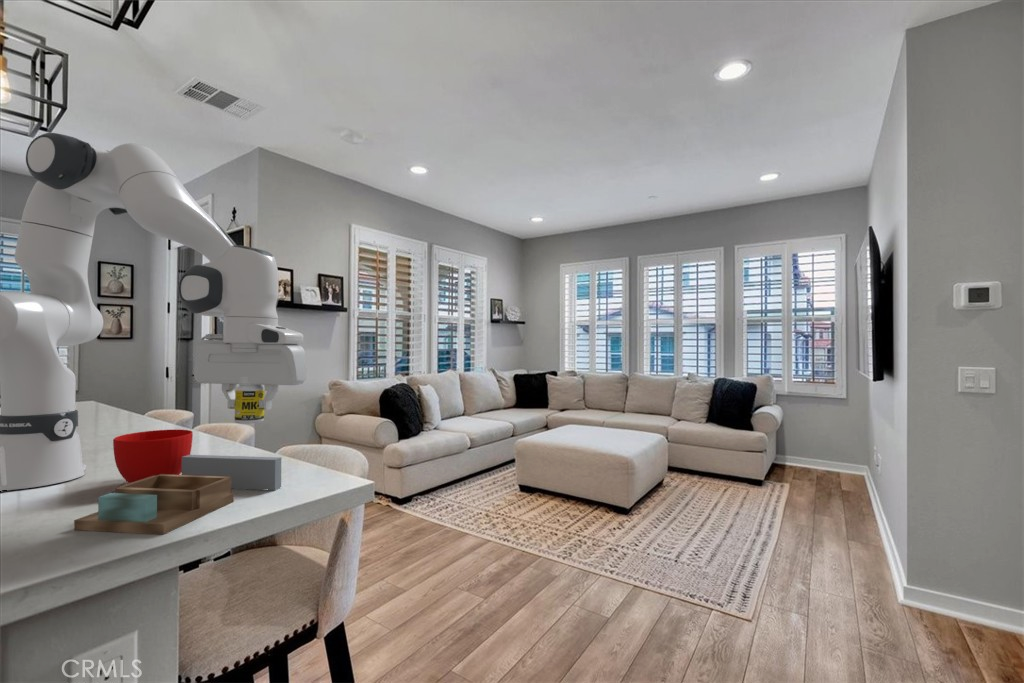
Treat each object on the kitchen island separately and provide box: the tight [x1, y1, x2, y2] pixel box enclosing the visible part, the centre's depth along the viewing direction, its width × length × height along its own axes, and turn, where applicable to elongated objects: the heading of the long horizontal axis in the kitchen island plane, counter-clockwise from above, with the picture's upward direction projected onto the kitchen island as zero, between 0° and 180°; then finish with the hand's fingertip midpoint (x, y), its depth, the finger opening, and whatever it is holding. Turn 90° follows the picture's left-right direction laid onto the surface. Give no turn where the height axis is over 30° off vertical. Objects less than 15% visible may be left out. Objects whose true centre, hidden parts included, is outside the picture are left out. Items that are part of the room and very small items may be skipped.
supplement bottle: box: [234, 377, 266, 425], centre depth 86 cm, size 5×5×8 cm
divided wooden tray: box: [73, 474, 235, 535], centre depth 79 cm, size 15×15×5 cm
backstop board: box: [180, 454, 282, 491], centre depth 94 cm, size 20×2×6 cm, turn 84°
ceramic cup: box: [112, 429, 193, 484], centre depth 97 cm, size 13×17×10 cm
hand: (249, 409), depth 86 cm, fingers closed on supplement bottle, 5 cm apart
